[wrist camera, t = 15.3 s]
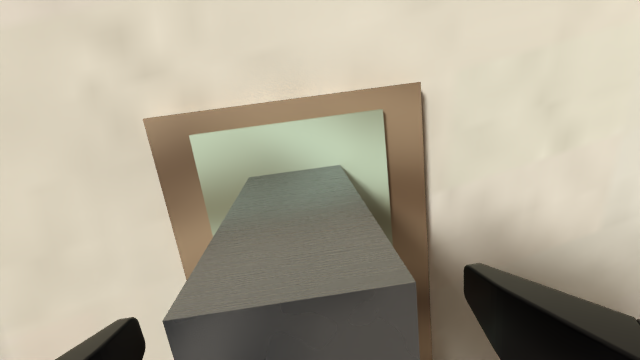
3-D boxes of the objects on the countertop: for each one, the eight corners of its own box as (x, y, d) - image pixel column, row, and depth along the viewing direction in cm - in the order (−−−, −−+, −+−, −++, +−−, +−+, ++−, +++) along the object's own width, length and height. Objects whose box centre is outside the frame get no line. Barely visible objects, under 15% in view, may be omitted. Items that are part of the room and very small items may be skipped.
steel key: (348, 246, 16) (425, 463, 7) (264, 259, 16) (216, 500, 6) (339, 164, 15) (415, 282, 5) (248, 177, 15) (162, 321, 5)
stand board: (429, 415, 22) (437, 437, 20) (239, 448, 21) (235, 472, 20) (412, 82, 16) (423, 81, 14) (152, 117, 15) (138, 119, 14)
